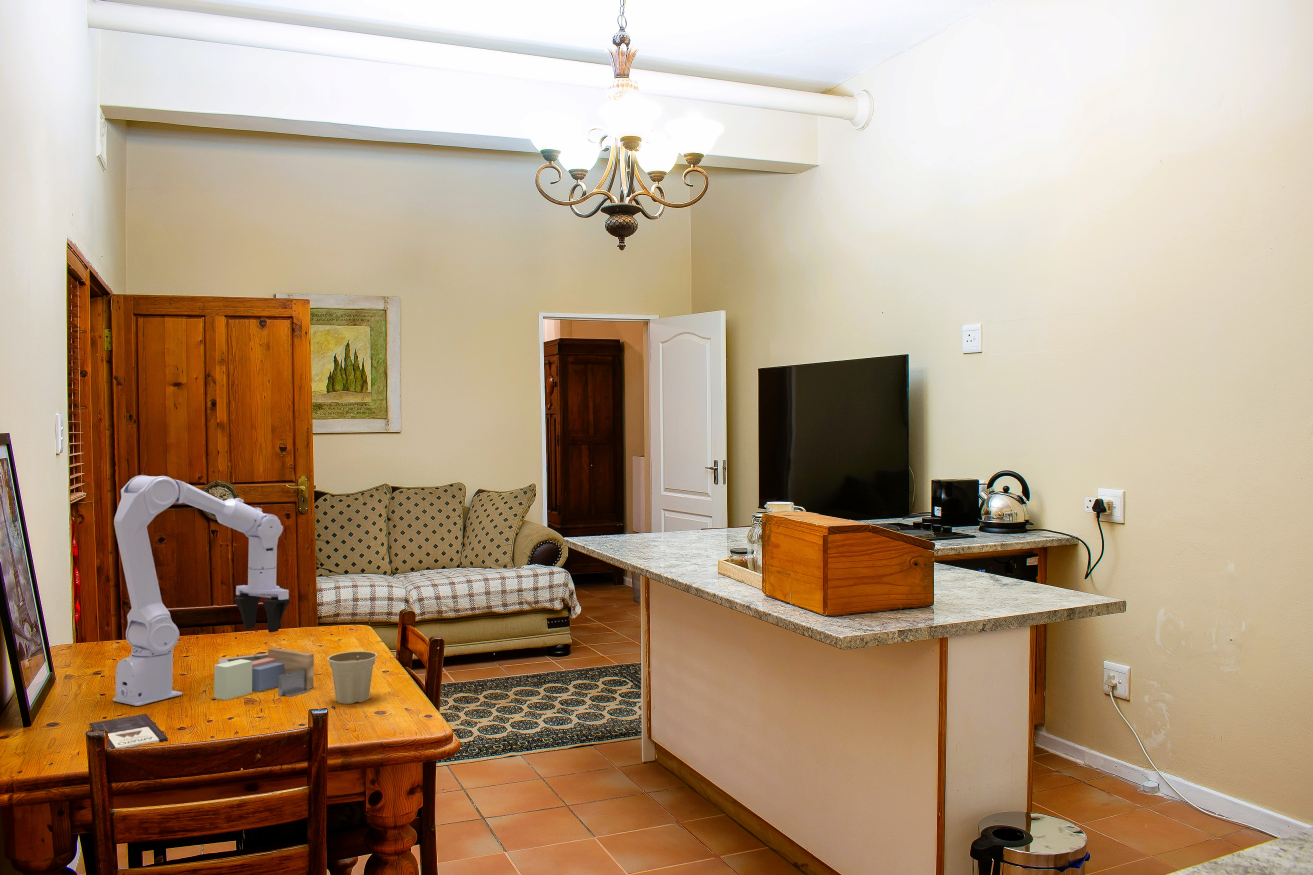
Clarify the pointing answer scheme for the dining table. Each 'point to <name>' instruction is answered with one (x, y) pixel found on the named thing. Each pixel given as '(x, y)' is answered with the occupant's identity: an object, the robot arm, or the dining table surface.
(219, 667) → the beige rectangular block
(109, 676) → the dining table surface
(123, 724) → the chocolate bar
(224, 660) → the picture frame
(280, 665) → the shelved books
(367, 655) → the flower pot
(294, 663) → the shelf wall
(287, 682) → the bookend
